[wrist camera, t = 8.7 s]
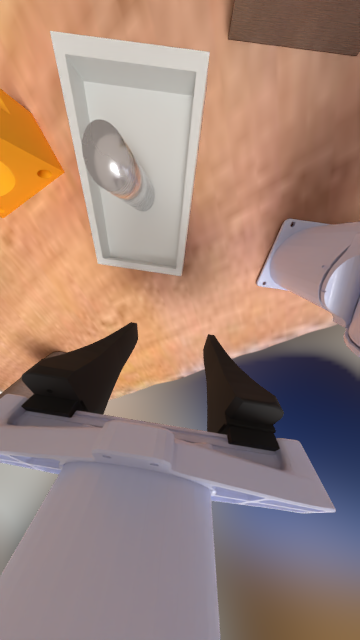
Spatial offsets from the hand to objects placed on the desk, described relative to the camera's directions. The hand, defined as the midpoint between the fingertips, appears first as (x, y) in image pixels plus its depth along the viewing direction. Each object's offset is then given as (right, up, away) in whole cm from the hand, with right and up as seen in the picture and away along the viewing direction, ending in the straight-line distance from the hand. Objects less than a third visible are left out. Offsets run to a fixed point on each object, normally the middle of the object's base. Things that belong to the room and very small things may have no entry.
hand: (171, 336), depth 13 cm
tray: (-4, +16, +2) cm, 17 cm away
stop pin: (-4, +16, +2) cm, 17 cm away
